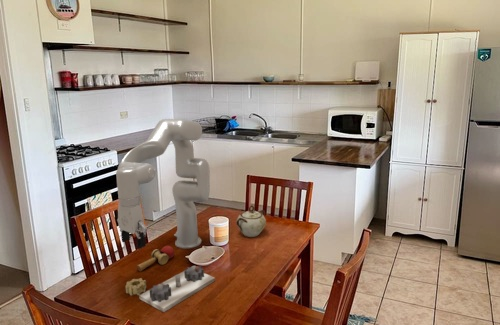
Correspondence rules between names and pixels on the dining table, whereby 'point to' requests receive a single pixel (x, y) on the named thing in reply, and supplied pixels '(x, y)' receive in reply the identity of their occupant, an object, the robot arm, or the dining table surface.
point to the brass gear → (136, 286)
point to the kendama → (158, 257)
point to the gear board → (177, 288)
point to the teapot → (251, 222)
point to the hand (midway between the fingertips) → (133, 244)
